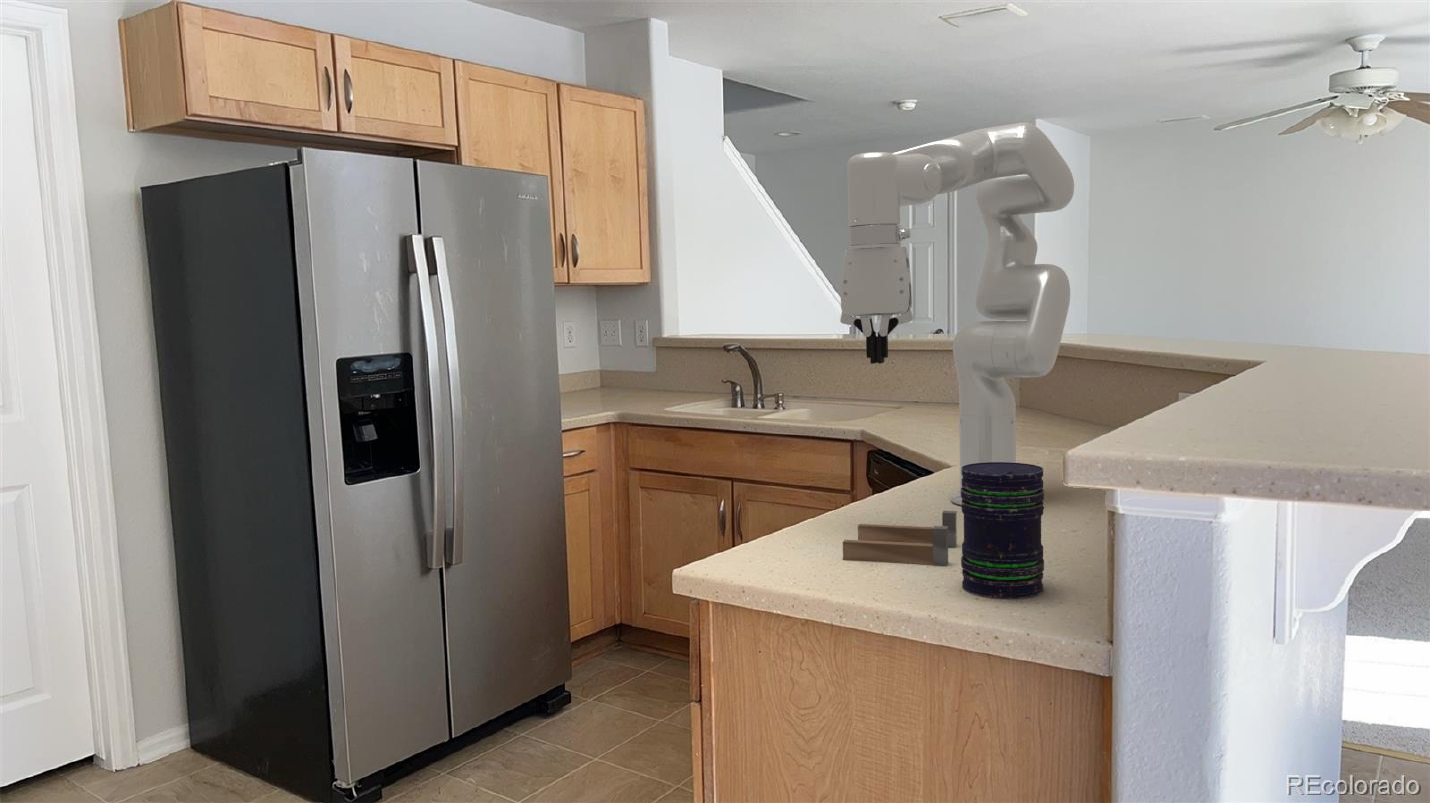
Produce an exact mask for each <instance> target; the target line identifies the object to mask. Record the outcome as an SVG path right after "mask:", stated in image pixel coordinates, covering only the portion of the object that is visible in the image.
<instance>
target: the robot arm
mask: <svg viewBox="0 0 1430 803" xmlns="http://www.w3.org/2000/svg"><path fill="white" fill-rule="evenodd" d="M846 167H847V168H846V172H847V173H846V174H847V175H846V176H847V179H846V180H847V181H846V182H847V211H848V213H847V215H848V217H847V220H848V246H849V248H848V249H845V250H844V254H843V260H842V266H841V269H842V270H841V281H840V310H841V314H840V319H839V320H840V323H841V324H843V325H847V326H854V327H855V328H857V329H858V331H860V332H861V333H862V335H863V336H864V337H865V342H866V345H865V346H866V348H865V349H866V358H867V359H870V364H871V365H874V364H883V363H885V359H886V358H888V357H889V335H890V334H891V333H892V332H893V331H894V329H896V327H897V326H899V325H902V324H907V323H909V322H912V321H913V320H914V314H913V310H912V308H913V291H912V278H911V268H910V260H909V255H908V254H909V253H908V251H907V247H906V246H902V245H901V244H902V242H903V240H906V239H911V229H910V228H903V227H902V226H901V212H900V211H901V210H900V208H901V207H905V206H907V207H908V206H916V205H917V206H918V205H921V204H925V203H929V201H931V200H933V199H934V198H936V196H937V195H942V194H947V193H954V192H957V191H960V190H963V189H966V188H968V187H971V186H972V185H976V186H975V198H976V204H977V206H978V209H979V211H980V215H981V217H982V220H983V223H984V226H985V230H986V233H987V238H988V245H987V250H986V254H985V259H984V262H983V266H982V270H981V274H980V277H979V281H978V285H977V290H976V295H975V307H976V309H977V312H978V313H979V314H980V315H981V316H982V317H984V318H986V319H990V320H982V321H975V322H971V323H967V324H966V325H963V326H962V327H961V328H960V329H958V330H957V332H956V334H955V335H954V337H953V338H954V339H953V341H952V354H953V360H954V364H955V365H954V366H955V370H956V375H957V384H958V398H959V399H958V400H959V401H958V406H959V409H958V410H959V411H958V412H959V416H958V417H959V490H957V491H953V492H952V493H951V494H950V501H951V502H952V503H954V504H956V505H960V506H961V504H962V498H961V488H962V478H963V475H962V469H961V468H962V467H963V466H965V465H968V464H974V463H986V462H1012V463H1017V454H1016V453H1017V447H1016V446H1017V443H1016V442H1017V439H1016V438H1017V434H1016V433H1017V431H1016V430H1017V428H1016V426H1017V422H1016V421H1017V420H1016V419H1017V418H1016V417H1017V415H1016V414H1017V412H1016V411H1017V408H1016V407H1017V404H1016V400H1015V396H1014V394H1013V391H1012V389H1011V388H1010V386H1009V385H1008V383H1007V381H1006V380H1005V378H1040V377H1044V376H1046V375H1048V374H1049V373H1050V372H1051V371H1052V369H1053V368H1054V366H1055V363H1056V361H1057V358H1058V354H1059V350H1060V347H1061V342H1062V337H1063V333H1064V330H1065V325H1066V321H1067V316H1068V313H1069V306H1070V302H1071V301H1070V300H1071V285H1070V280H1069V276H1068V274H1067V273H1066V271H1065V270H1064V269H1063V268H1061V267H1060V266H1059V265H1055V264H1051V263H1036V259H1037V253H1038V243H1037V240H1036V238H1035V236H1034V234H1033V232H1032V231H1031V230H1030V229H1029V228H1028V226H1027V225H1026V224H1025V223H1024V222H1023V220H1022V219H1021V217H1020V216H1019V215H1029V214H1040V213H1042V214H1043V213H1052V212H1056V211H1061V210H1062V209H1064V208H1066V207H1067V206H1068V205H1069V204H1070V202H1071V201H1072V200H1073V197H1074V193H1075V181H1074V177H1073V174H1072V171H1071V168H1070V167H1069V165H1068V164H1067V162H1066V161H1065V159H1064V158H1063V156H1062V155H1061V154H1060V152H1059V151H1058V150H1057V147H1056V146H1055V145H1054V144H1053V143H1052V141H1051V140H1050V139H1049V137H1048V136H1047V135H1046V134H1045V133H1044V132H1043V131H1042V130H1041V129H1040V128H1039V127H1037V126H1036V125H1034V124H1033V123H1031V122H1017V123H1010V124H1004V125H1003V124H1002V125H996V126H988V127H984V128H978V129H975V130H971V131H967V132H964V133H961V134H958V135H954V136H950V137H946V138H943V139H940V140H939V139H938V140H936V141H932V142H931V141H930V142H927V143H925V144H920V145H918V146H914V147H911V148H907V149H904V150H899V151H896V152H884V151H873V152H871V151H870V152H863V153H858V154H855V155H853V156H851V157H850V158H849V160H847V166H846ZM1035 263H1036V264H1035ZM893 315H895V317H893ZM896 315H897V316H896ZM898 315H899V316H898ZM873 316H880V322H879V331H878V332H876V331H875V327H874V326H875V325H874V322H873V320H874V319H873Z"/></svg>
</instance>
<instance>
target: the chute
mask: <svg viewBox="0 0 1430 803" xmlns="http://www.w3.org/2000/svg"><path fill="white" fill-rule="evenodd" d="M941 513H942V515H941V517H942V519H941V520H942V522H941V523H942V524H941V525H933V526H918V525H917V526H915V525H894V524H893V525H891V524H869V523H868V524H867V523H859V524H858V525H857V539H844V540H842V560H843V561H844V560H849V561H862V562H863V561H864V562H865V561H866V562H879V563H880V562H881V563H882V562H883V563H899V564H900V563H901V564H918V565H933V566H943V567H945V566H946V567H947V566H948V563H949V548H956V547H957V545H958V544H957V543H958V542H957V537H958V536H957V528H958V527H957V510H942V512H941Z"/></svg>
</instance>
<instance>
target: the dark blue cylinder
mask: <svg viewBox="0 0 1430 803" xmlns="http://www.w3.org/2000/svg"><path fill="white" fill-rule="evenodd" d="M961 469H962V475H963V478H962V488H961V498H962V504H961V505H960V507H961V512H962V514H963V541H962V543H961V554H962V555H961V557H960V562H961V563H960V564H961V568H962V571H961V574H962V576H963V580H962V582H961V583H962V584H961V585H962V586H961V587H962V589H963V590H964V591H965V592H967V593H969V594H971V595H974V596H978V597H982V598H988V599H990V598H991V599H997V600H999V599H1000V600H1022V599H1029V598H1033V597H1036V596H1039V595H1041V594H1042V593H1043V591H1044V584H1043V579H1044V573H1043V572H1045V571H1044V570H1045V559H1044V546H1043V544H1042V516H1043V515H1044V509H1045V506H1044V500H1045V489H1044V480H1043V477H1044V468H1043V467H1042V466H1039V465H1036V464H1030V463H1024V462H1023V463H1022V462H1016V463H1012V462H986V463H974V464H968V465H965V466H963V467H962V468H961Z"/></svg>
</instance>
